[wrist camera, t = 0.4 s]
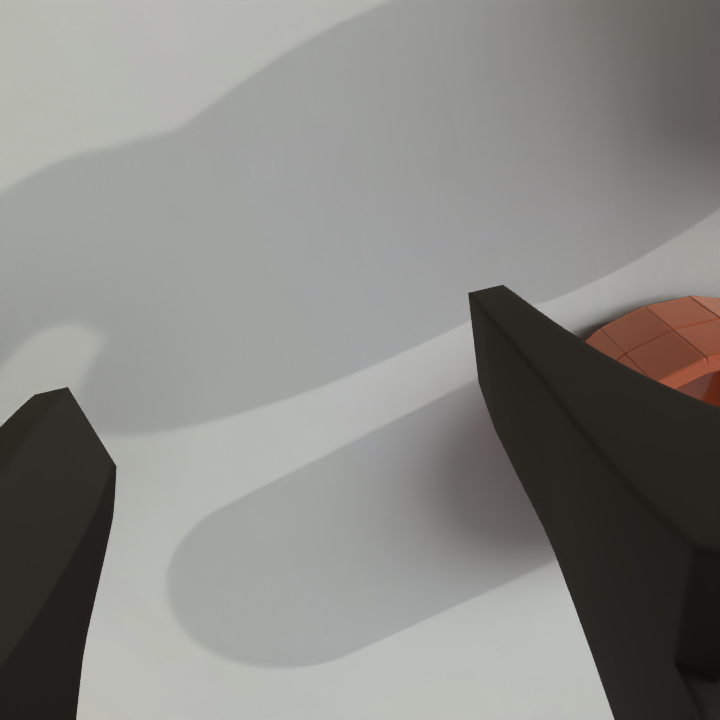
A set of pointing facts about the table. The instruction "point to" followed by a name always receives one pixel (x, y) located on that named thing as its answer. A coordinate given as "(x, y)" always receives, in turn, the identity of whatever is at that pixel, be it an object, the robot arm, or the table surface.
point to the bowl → (669, 344)
